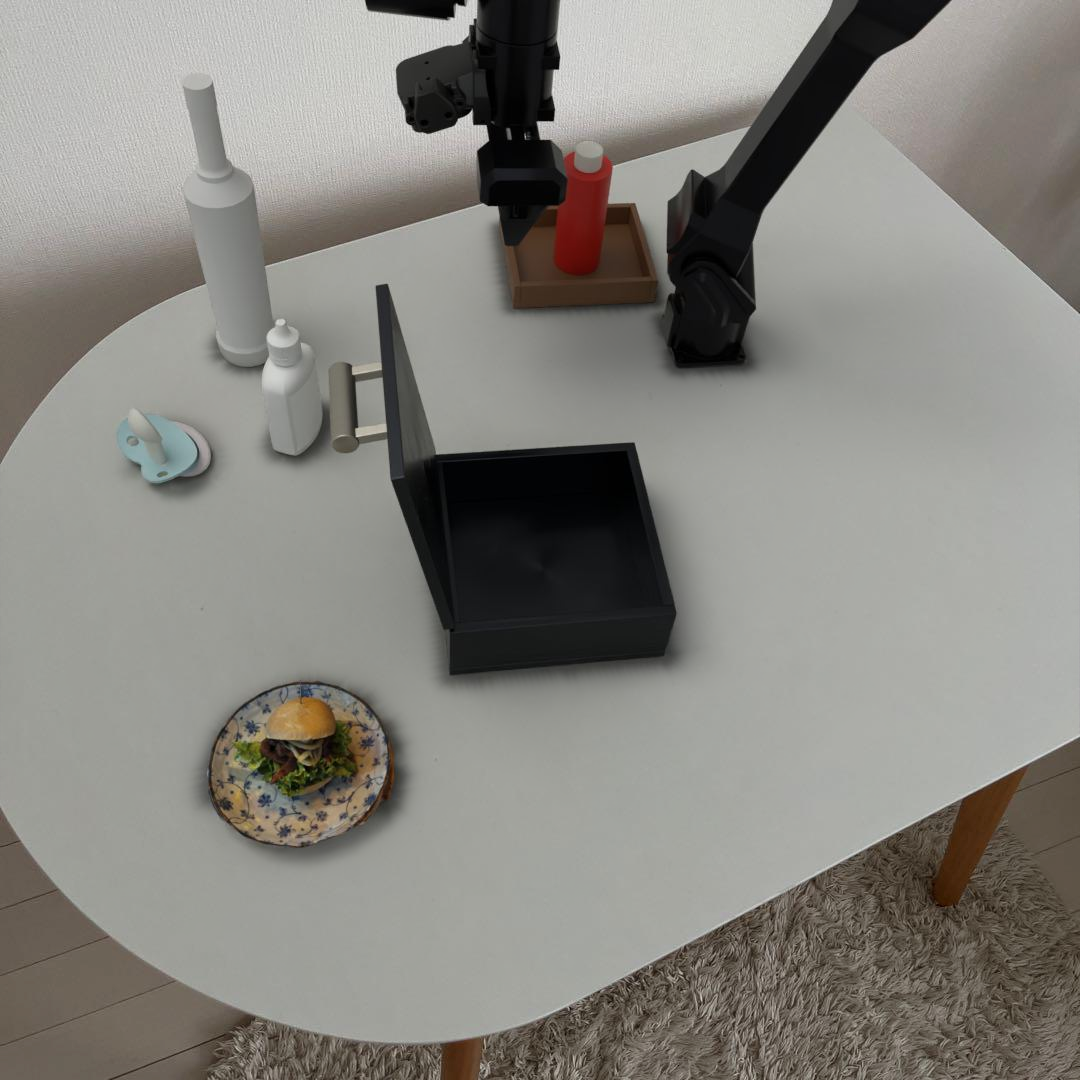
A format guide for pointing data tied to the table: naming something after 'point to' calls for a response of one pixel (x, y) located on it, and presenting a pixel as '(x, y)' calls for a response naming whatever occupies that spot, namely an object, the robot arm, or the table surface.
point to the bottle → (226, 234)
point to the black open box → (552, 558)
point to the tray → (614, 281)
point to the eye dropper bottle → (291, 391)
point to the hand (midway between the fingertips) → (505, 207)
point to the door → (399, 446)
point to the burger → (300, 765)
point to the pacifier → (162, 447)
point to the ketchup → (583, 210)
